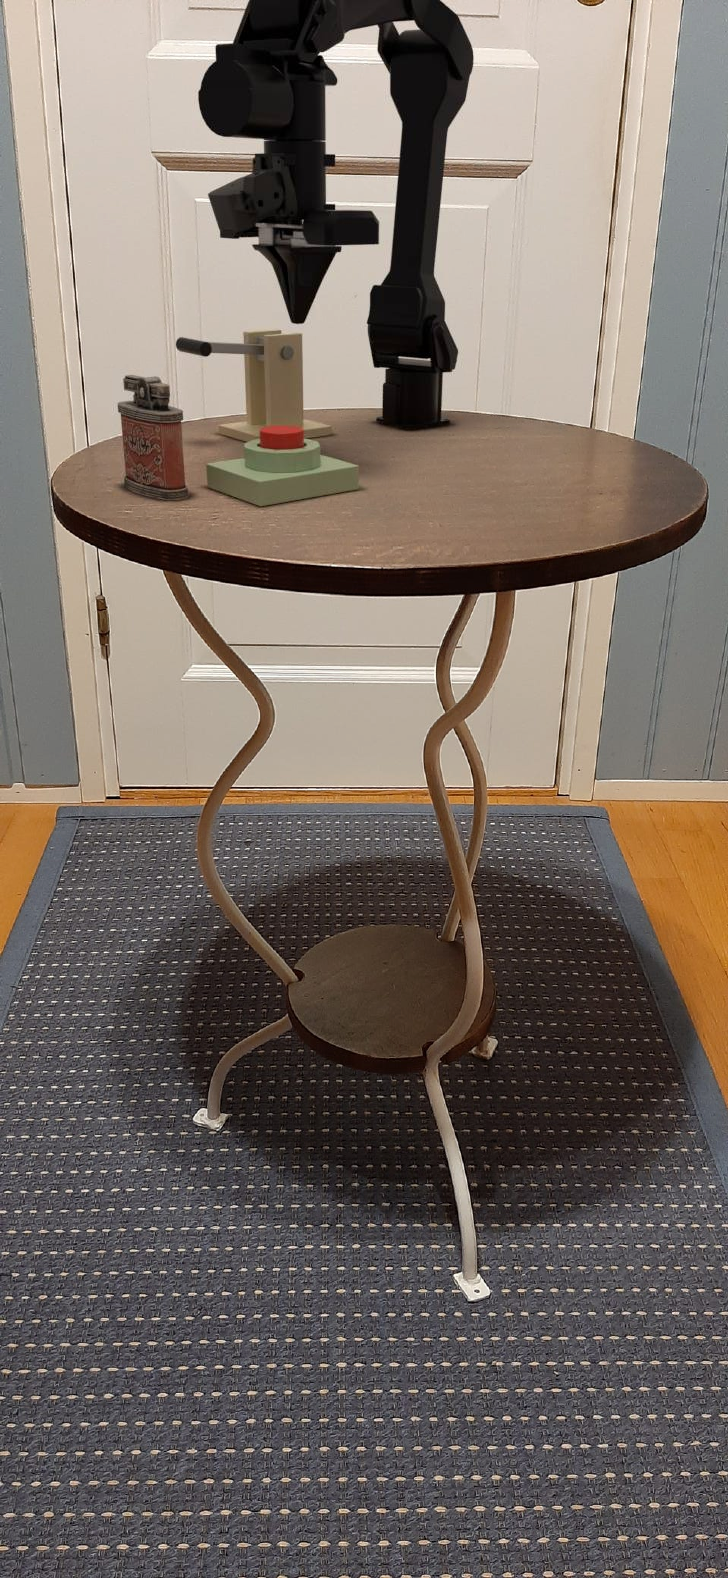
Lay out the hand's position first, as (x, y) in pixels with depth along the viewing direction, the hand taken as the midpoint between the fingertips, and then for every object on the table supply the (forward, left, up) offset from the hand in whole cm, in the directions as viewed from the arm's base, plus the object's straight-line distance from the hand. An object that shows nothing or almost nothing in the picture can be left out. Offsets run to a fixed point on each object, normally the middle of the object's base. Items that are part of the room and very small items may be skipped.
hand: (297, 323), depth 113 cm
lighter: (+19, +4, -13) cm, 24 cm away
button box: (+9, +10, -13) cm, 19 cm away
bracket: (-5, -12, -13) cm, 18 cm away
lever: (0, -12, -5) cm, 13 cm away
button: (+9, +10, -9) cm, 16 cm away
